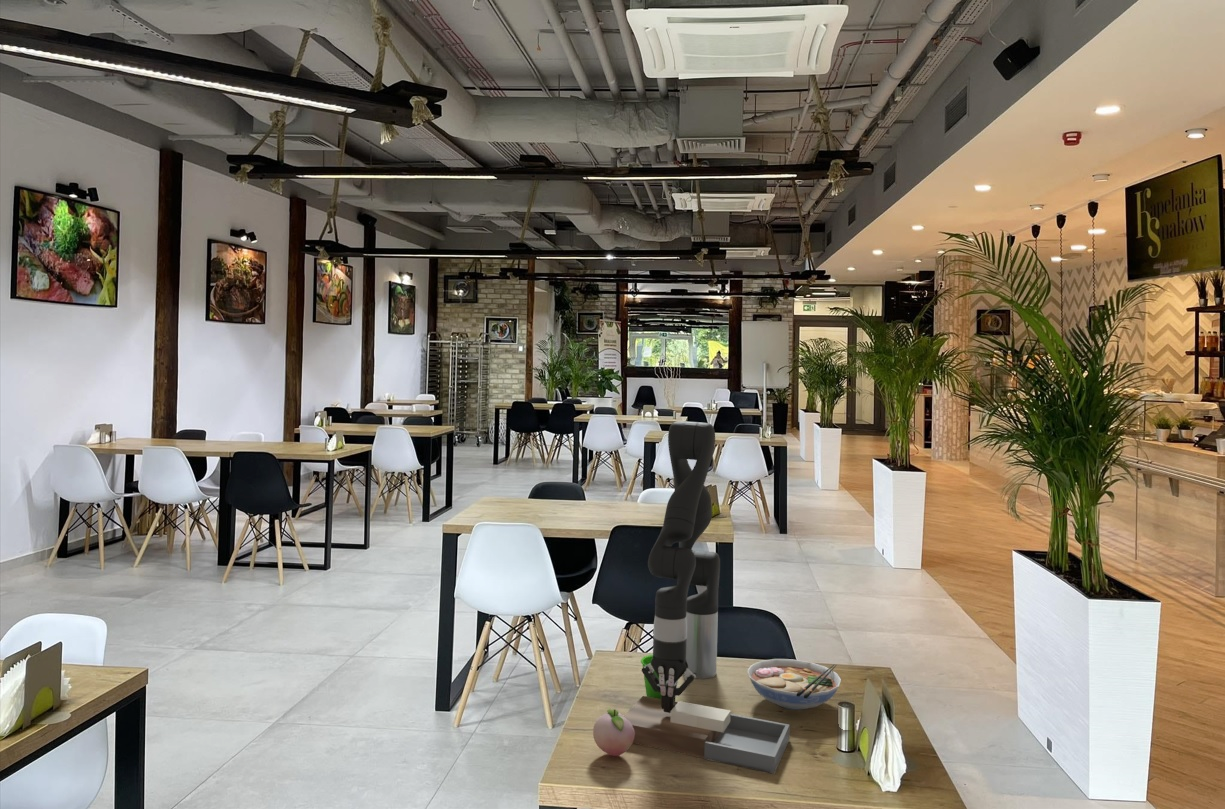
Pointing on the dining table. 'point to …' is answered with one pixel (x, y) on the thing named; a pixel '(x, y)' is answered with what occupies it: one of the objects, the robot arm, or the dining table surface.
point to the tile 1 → (685, 713)
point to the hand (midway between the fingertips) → (667, 711)
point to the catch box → (750, 744)
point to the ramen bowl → (794, 682)
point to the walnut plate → (666, 729)
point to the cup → (649, 689)
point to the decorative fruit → (613, 733)
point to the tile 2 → (713, 719)
